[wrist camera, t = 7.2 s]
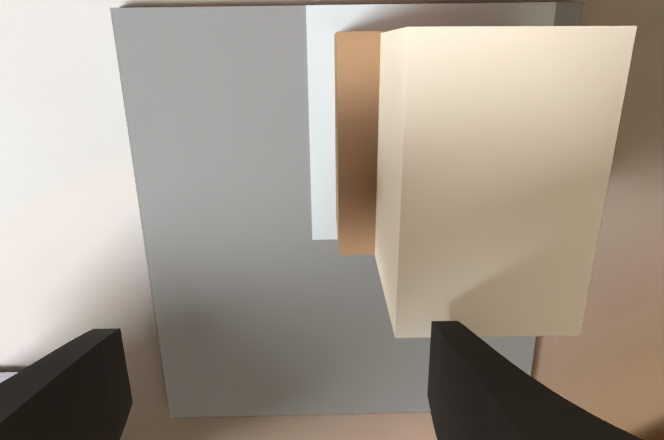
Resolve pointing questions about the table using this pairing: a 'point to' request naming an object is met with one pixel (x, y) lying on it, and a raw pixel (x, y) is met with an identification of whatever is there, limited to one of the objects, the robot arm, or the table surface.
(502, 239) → the cream block
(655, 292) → the table surface
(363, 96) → the walnut block
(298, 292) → the gray mat
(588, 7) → the table surface
